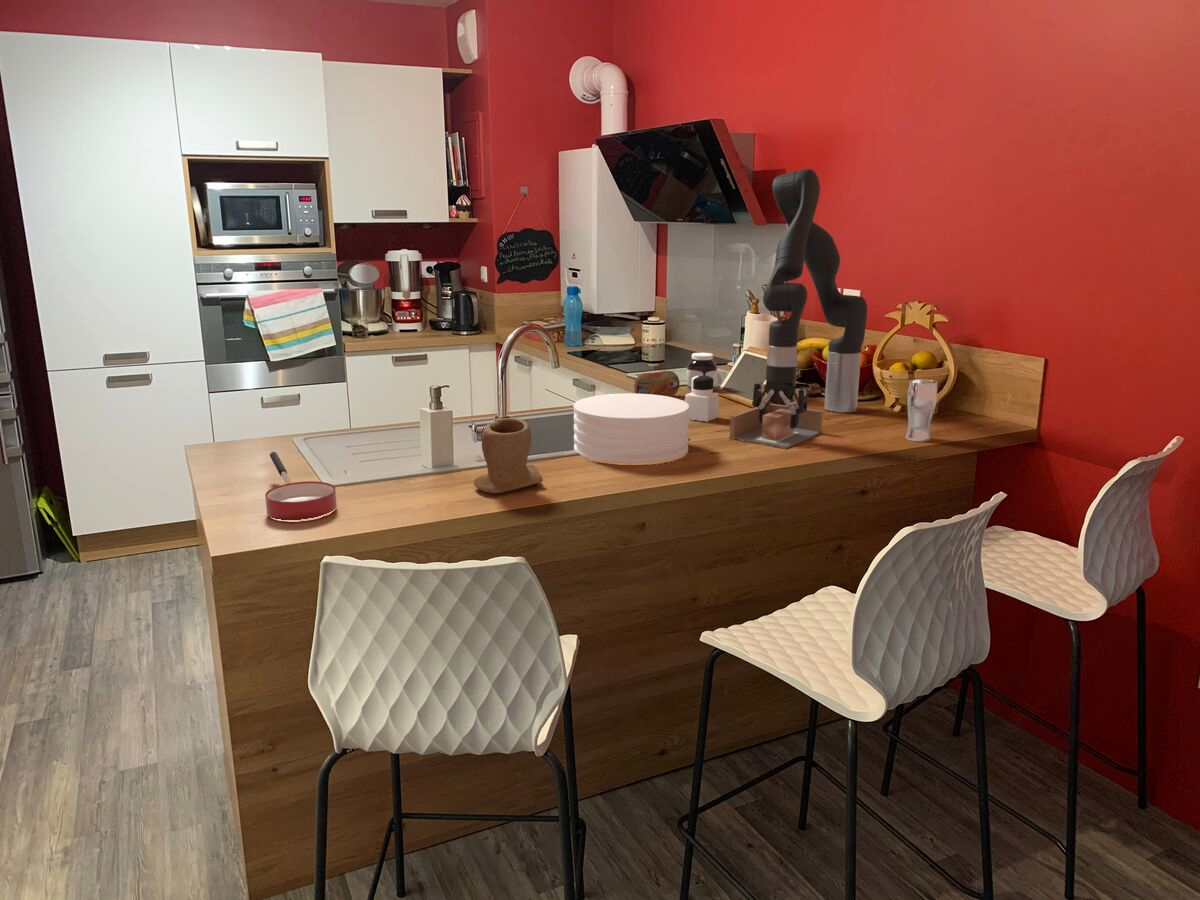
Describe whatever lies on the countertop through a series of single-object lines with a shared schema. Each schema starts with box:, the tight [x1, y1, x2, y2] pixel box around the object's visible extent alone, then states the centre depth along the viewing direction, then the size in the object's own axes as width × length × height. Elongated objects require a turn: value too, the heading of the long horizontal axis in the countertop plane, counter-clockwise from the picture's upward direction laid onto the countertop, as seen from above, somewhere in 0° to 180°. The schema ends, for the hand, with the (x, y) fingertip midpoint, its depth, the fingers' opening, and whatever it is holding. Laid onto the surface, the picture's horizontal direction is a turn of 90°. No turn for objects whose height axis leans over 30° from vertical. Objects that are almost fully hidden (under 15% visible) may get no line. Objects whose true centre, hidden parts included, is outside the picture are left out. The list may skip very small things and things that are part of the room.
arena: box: [729, 402, 824, 449], centre depth 233 cm, size 20×16×6 cm
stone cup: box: [473, 417, 544, 494], centre depth 189 cm, size 15×12×15 cm
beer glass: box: [905, 378, 938, 443], centre depth 229 cm, size 7×7×15 cm
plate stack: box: [573, 392, 690, 464], centre depth 219 cm, size 28×28×12 cm
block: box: [762, 409, 794, 441], centre depth 230 cm, size 4×10×6 cm, turn 142°
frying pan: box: [264, 451, 338, 520], centre depth 183 cm, size 32×13×6 cm, turn 36°
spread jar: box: [685, 352, 724, 390], centre depth 293 cm, size 12×11×12 cm
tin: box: [633, 370, 680, 397], centre depth 279 cm, size 15×3×8 cm, turn 115°
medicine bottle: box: [684, 376, 720, 423], centre depth 252 cm, size 7×7×12 cm
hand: (778, 425), depth 230 cm, fingers open, 8 cm apart
